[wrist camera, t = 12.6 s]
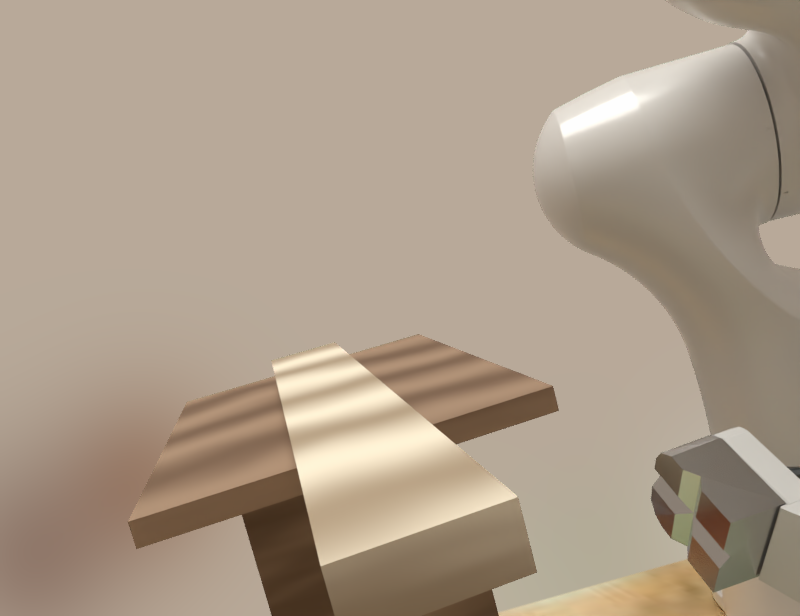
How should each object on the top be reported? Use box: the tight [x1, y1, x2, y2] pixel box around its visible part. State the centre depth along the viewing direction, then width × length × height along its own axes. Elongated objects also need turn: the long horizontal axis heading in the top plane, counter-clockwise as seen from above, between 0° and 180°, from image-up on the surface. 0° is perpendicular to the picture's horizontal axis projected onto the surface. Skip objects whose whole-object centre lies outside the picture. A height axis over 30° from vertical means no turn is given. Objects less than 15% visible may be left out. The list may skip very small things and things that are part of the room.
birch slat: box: [272, 342, 537, 616], centre depth 28 cm, size 30×4×2 cm, turn 13°
